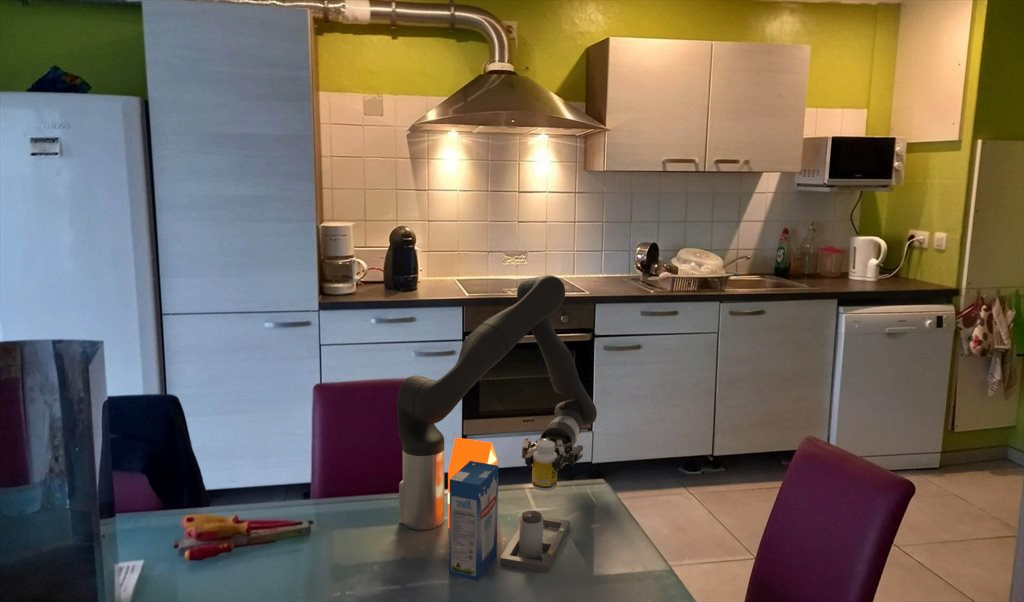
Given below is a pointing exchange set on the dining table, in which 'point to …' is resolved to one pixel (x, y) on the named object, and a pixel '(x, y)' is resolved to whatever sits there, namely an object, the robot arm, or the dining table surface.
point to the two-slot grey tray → (548, 544)
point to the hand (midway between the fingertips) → (542, 464)
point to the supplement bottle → (544, 466)
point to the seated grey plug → (531, 535)
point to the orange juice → (468, 458)
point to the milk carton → (473, 520)
